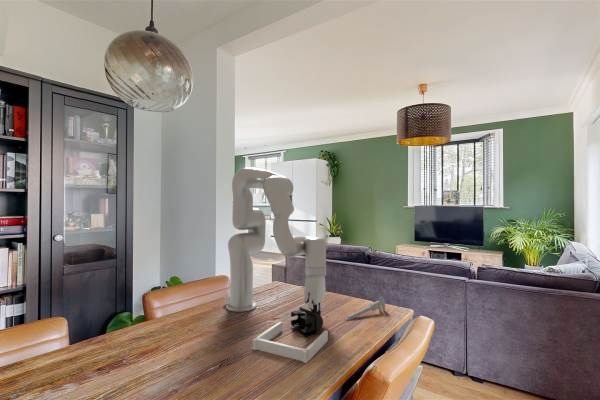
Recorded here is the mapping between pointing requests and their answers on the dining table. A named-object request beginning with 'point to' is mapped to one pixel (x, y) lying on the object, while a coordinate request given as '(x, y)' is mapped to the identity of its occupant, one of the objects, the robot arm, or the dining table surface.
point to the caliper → (371, 307)
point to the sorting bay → (287, 350)
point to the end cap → (306, 322)
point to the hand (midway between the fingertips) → (315, 321)
